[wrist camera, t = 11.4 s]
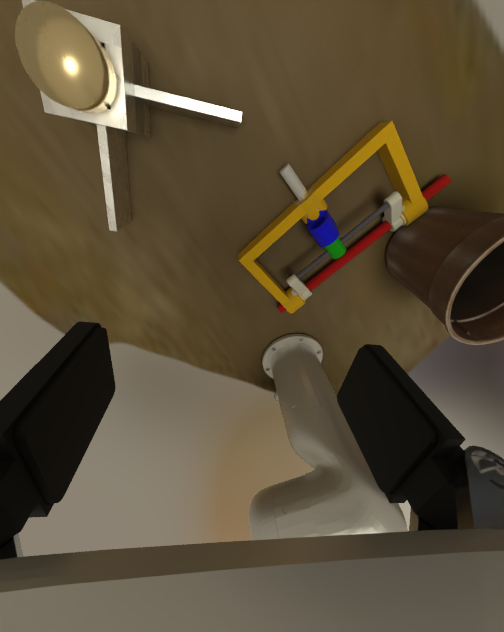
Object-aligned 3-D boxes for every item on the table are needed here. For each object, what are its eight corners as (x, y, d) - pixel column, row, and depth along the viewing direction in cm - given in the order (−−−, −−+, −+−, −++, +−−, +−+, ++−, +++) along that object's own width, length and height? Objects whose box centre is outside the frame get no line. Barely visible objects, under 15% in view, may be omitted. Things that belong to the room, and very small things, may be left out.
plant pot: (493, 204, 38) (640, 230, 25) (432, 294, 47) (518, 350, 33) (406, 180, 35) (522, 194, 22) (357, 282, 43) (419, 338, 30)
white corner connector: (224, 234, 36) (226, 254, 29) (103, 215, 33) (69, 233, 26) (242, 88, 28) (250, 63, 20) (81, 44, 25) (21, -4, 17)
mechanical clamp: (477, 193, 32) (292, 330, 40) (440, 188, 37) (283, 310, 45) (432, 32, 23) (209, 250, 32) (393, 55, 28) (210, 237, 37)
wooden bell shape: (143, 128, 28) (106, 115, 19) (92, 117, 27) (28, 97, 18) (140, 66, 25) (95, 15, 16) (84, 51, 24) (3, -12, 15)
